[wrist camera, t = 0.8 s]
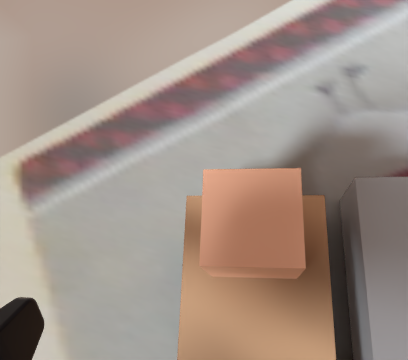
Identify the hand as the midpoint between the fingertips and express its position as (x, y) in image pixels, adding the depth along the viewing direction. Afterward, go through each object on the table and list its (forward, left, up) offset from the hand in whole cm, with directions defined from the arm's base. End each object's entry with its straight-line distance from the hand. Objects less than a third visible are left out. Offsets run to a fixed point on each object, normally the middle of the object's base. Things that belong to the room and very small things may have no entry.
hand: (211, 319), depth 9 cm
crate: (+4, -1, -9) cm, 10 cm away
